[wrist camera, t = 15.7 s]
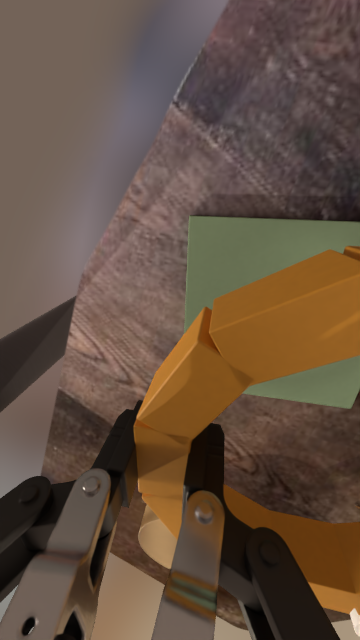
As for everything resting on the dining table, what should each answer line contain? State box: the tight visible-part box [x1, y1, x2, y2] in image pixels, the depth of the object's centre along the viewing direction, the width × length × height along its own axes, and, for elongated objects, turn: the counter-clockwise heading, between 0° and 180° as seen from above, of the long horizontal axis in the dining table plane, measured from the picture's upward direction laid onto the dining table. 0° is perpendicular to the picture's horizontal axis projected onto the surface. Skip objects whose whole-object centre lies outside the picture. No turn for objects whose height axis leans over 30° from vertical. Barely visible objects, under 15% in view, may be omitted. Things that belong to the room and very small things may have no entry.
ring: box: [134, 246, 360, 615], centre depth 10 cm, size 17×17×3 cm
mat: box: [184, 215, 360, 409], centre depth 23 cm, size 18×18×1 cm
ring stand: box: [138, 505, 177, 569], centre depth 36 cm, size 17×17×10 cm
